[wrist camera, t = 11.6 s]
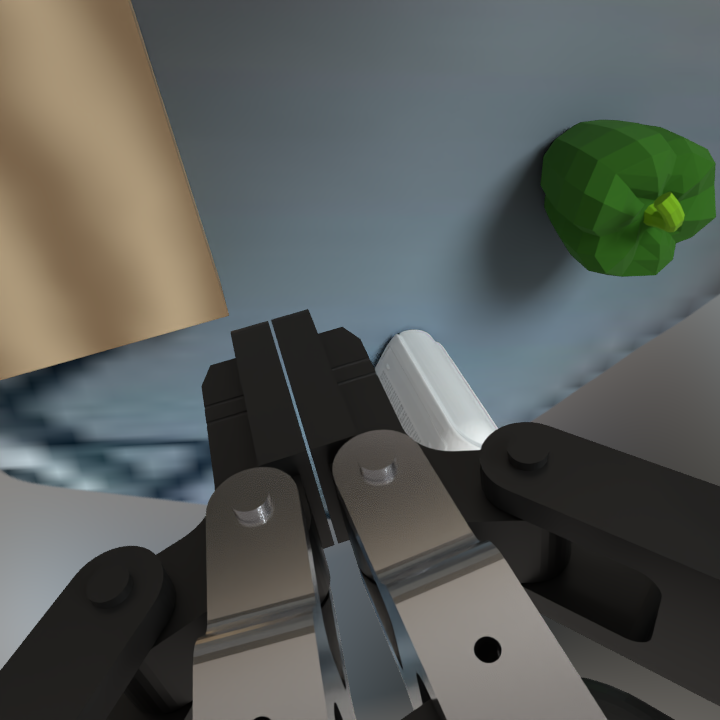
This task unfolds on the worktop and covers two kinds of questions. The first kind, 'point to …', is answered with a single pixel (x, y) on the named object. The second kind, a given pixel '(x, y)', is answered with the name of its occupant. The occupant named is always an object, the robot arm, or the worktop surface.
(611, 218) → the bell pepper
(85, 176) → the oak deck
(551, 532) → the robot arm
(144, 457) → the worktop surface
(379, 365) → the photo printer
